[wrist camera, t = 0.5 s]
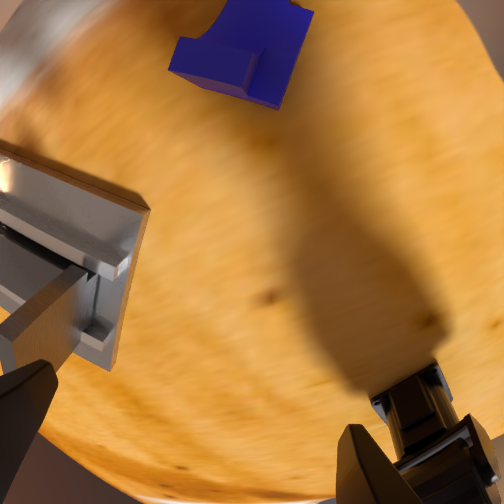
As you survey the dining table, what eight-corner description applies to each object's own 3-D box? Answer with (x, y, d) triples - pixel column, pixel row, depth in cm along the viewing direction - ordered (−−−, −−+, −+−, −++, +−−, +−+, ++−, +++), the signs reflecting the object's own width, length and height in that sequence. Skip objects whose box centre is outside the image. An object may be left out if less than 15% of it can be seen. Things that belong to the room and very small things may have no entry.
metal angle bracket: (100, 261, 19) (12, 342, 10) (90, 329, 21) (26, 412, 12) (0, 209, 18) (-88, 253, 10) (-1, 274, 20) (-71, 328, 12)
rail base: (150, 209, 19) (113, 236, 14) (115, 362, 24) (90, 403, 19) (-26, 137, 17) (-68, 146, 13) (-30, 272, 22) (-61, 293, 18)
